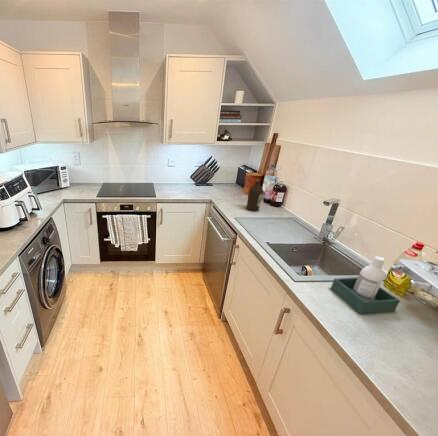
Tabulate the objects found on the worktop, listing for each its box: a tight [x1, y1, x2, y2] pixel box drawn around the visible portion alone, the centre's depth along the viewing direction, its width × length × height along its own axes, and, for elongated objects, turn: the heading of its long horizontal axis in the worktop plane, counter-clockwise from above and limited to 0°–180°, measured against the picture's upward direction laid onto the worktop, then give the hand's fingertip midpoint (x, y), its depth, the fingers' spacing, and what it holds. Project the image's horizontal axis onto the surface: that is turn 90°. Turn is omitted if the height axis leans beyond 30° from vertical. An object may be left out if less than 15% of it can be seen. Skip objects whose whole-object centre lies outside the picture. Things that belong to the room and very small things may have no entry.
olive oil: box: [246, 178, 264, 212], centre depth 190 cm, size 11×11×25 cm
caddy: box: [330, 276, 401, 315], centre depth 98 cm, size 15×15×6 cm
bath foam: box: [352, 255, 386, 301], centre depth 95 cm, size 7×7×20 cm
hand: (401, 275), depth 92 cm, fingers open, 8 cm apart
